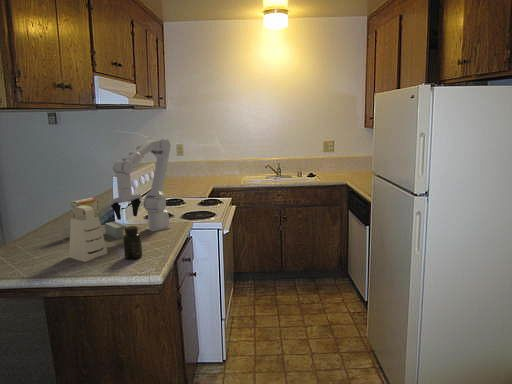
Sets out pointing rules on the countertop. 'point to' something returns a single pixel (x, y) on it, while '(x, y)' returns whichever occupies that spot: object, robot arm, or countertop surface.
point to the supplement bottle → (132, 243)
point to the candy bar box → (86, 202)
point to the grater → (86, 235)
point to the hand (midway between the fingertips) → (127, 217)
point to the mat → (120, 240)
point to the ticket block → (114, 229)
